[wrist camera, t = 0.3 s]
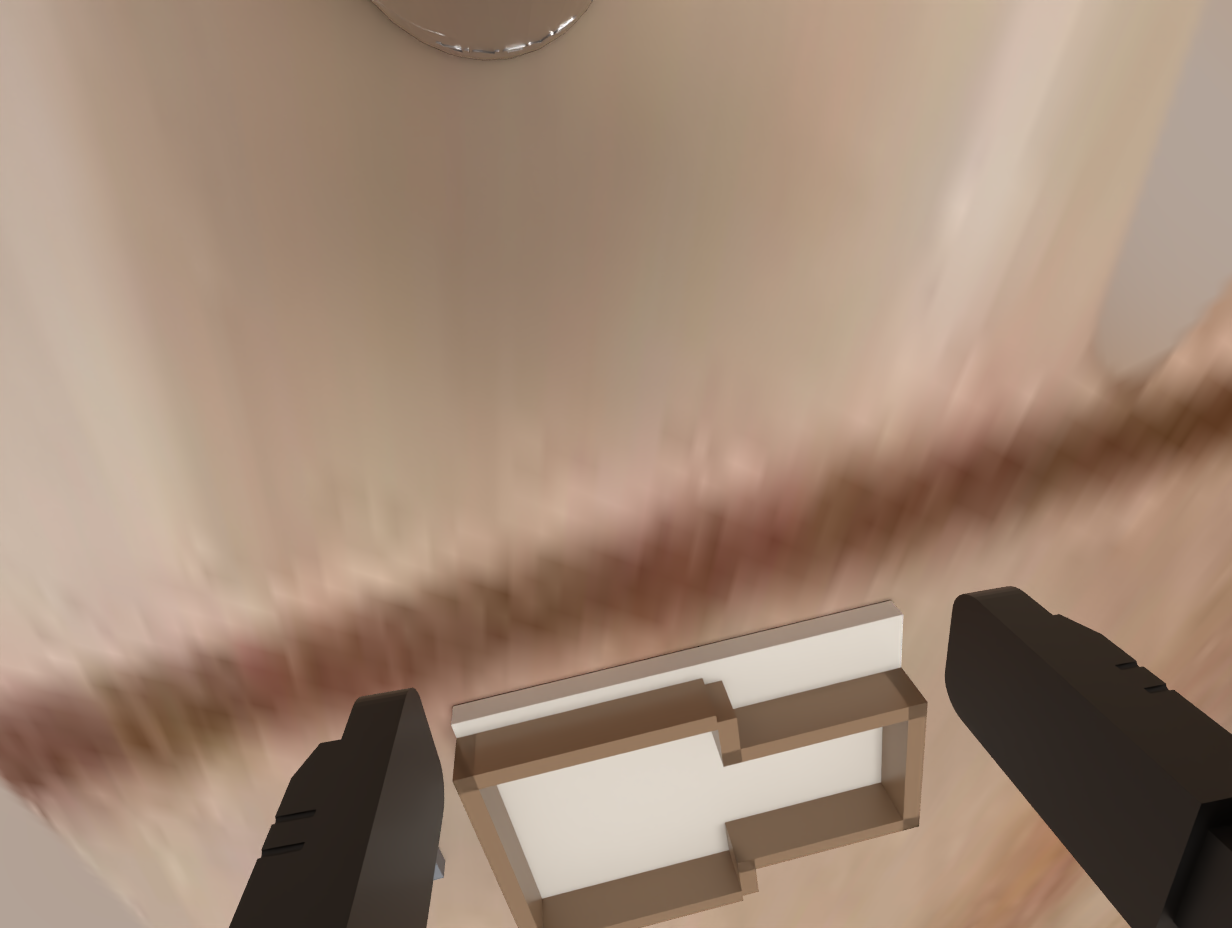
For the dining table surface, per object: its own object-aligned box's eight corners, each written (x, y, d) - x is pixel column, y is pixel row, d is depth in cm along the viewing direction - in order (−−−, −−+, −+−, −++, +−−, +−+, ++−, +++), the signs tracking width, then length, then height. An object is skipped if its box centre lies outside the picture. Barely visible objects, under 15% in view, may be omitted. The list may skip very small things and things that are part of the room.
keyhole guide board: (453, 706, 33) (446, 767, 30) (891, 600, 34) (931, 647, 31) (533, 900, 41) (535, 965, 38) (885, 809, 42) (916, 864, 39)
